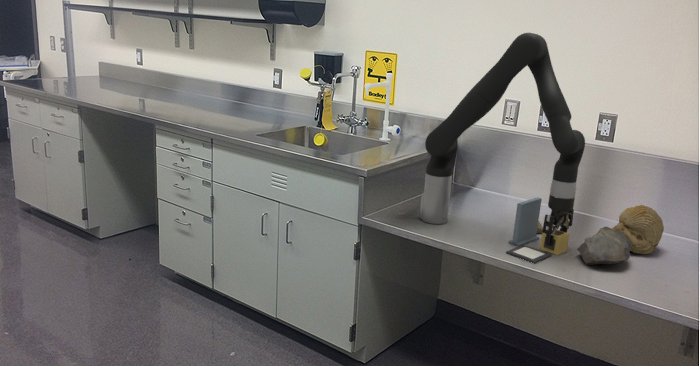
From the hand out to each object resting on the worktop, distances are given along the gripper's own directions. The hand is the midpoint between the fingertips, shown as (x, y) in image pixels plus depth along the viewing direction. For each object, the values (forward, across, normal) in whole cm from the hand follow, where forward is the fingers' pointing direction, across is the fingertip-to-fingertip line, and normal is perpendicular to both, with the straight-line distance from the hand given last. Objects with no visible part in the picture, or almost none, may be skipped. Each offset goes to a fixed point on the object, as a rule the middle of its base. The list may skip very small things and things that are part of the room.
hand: (555, 242), depth 186 cm
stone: (+3, -4, +14) cm, 15 cm away
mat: (+3, +11, -3) cm, 11 cm away
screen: (+2, +1, -10) cm, 11 cm away
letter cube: (+3, 0, 0) cm, 3 cm away
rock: (+3, -12, -16) cm, 20 cm away
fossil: (+3, -24, +15) cm, 28 cm away
